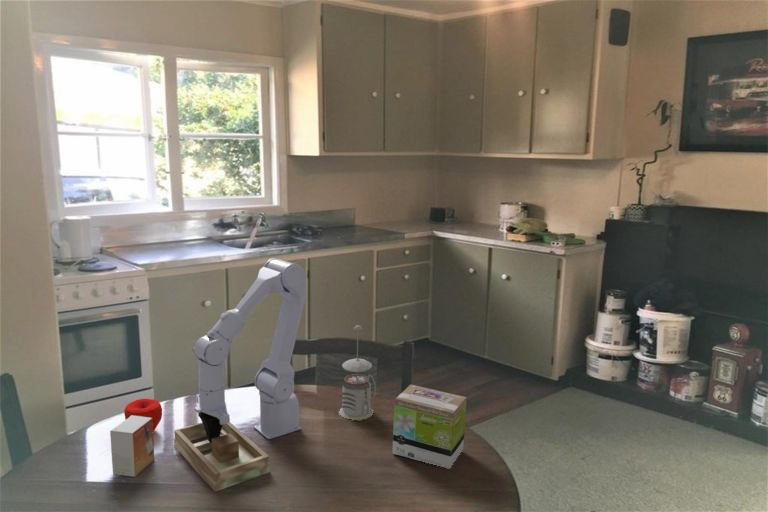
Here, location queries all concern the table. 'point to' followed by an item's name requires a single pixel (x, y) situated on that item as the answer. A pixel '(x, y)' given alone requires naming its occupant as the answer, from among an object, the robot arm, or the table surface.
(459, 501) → the table surface
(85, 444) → the table surface
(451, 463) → the tea box
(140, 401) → the apple
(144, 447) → the small box
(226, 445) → the walnut block
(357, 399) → the french press
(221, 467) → the box
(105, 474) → the table surface
